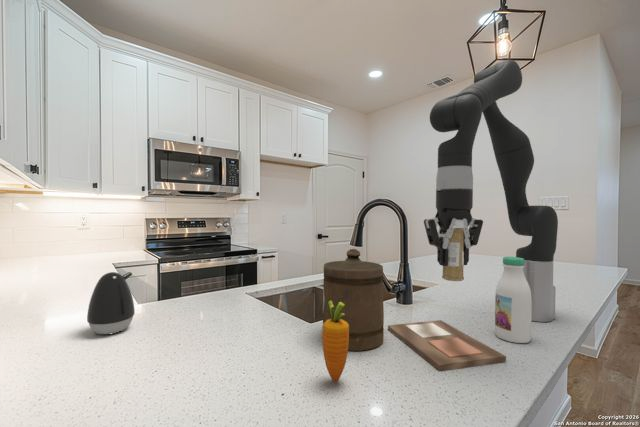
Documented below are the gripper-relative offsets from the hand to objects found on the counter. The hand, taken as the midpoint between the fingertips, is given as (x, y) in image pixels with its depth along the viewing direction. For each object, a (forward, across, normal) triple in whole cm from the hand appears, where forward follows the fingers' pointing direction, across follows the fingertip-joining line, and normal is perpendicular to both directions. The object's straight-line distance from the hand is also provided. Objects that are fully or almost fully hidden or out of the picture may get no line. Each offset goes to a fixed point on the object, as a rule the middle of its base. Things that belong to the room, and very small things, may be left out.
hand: (452, 264), depth 70 cm
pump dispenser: (+20, +78, -30) cm, 86 cm away
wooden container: (+20, +19, -12) cm, 30 cm away
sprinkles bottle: (+3, 0, 0) cm, 3 cm away
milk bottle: (+20, -20, -4) cm, 28 cm away
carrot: (+20, +29, +6) cm, 36 cm away
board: (+20, 0, -4) cm, 20 cm away
